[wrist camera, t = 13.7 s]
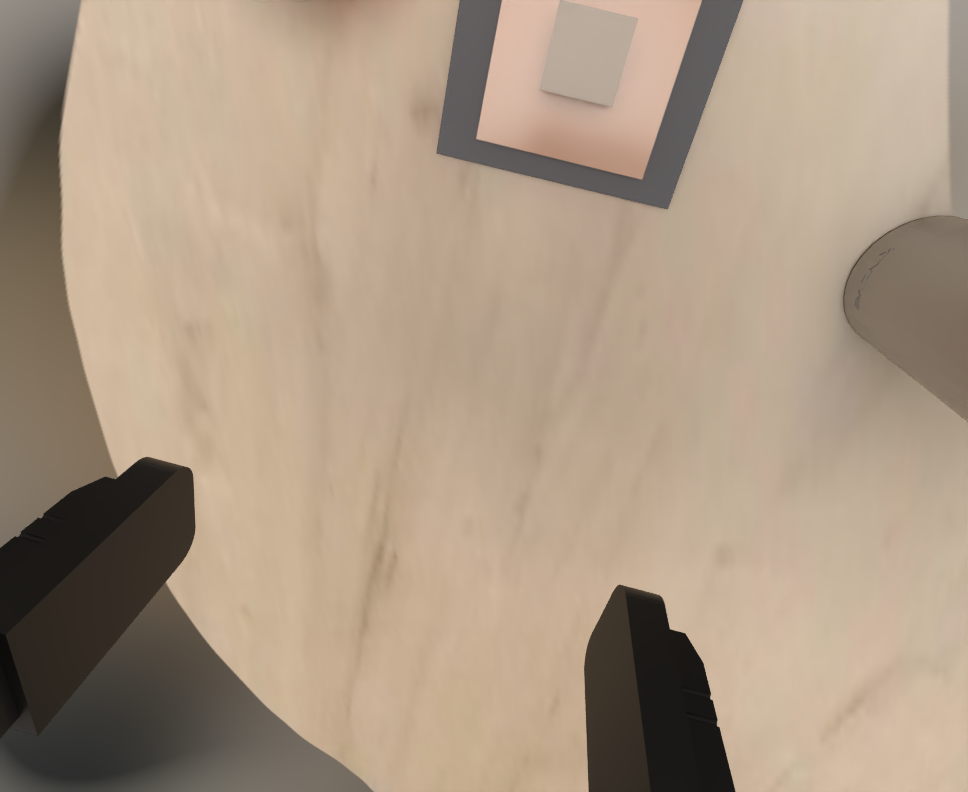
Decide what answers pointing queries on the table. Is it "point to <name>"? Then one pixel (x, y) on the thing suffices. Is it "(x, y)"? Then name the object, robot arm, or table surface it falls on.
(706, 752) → the robot arm
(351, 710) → the table surface
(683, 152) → the mat
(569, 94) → the cover
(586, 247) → the table surface
